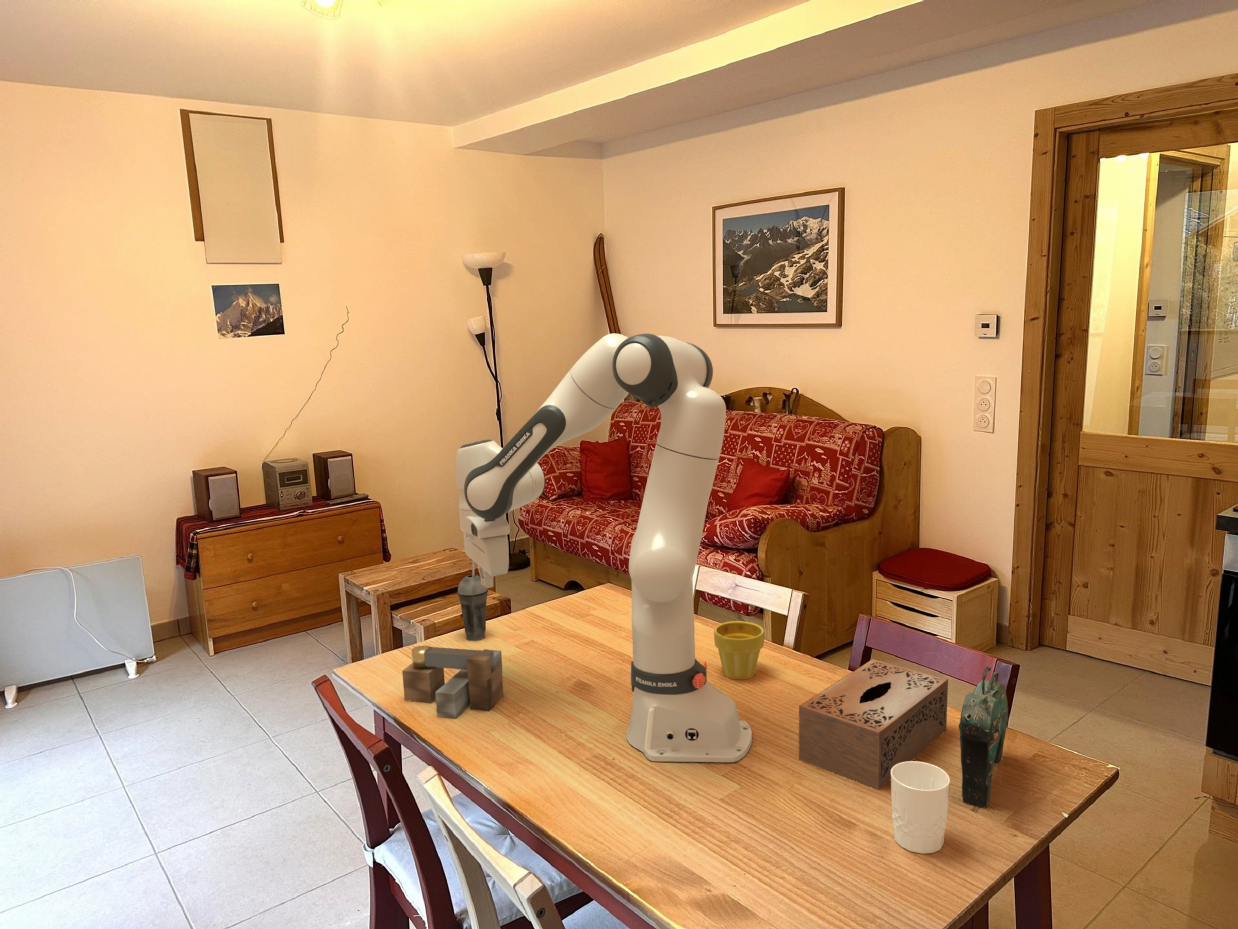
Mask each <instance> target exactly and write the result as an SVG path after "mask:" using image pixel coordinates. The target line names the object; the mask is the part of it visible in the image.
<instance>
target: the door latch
mask: <svg viewBox="0 0 1238 929" xmlns="http://www.w3.org/2000/svg"><path fill="white" fill-rule="evenodd" d="M482 650H483V651H493V653H494V666H493V667H492V668H491V663H490V657H489V656H478V655H471V656H470V657H469V658H467V668H468V670H463V669H459V671H458V672H456V674H455V675H453V676H452V677H451V678H449V680H448V681H445V680H446V678H445V668H436V667H415V666H413V662H412V663H410V664H409V665H408V666H406V667H405V668H404V669H403V670H401V672H402V685H403V693H404V694H403V698H404V701H405V700H411V701H410V702H414V701H416V703H423V702H424V703H423V704H425V703H426V704H432V703H433V702H434V701H435V706H436V716H439V717H440V718H446V719H447V718H448V719H457V718H458V717H459V716H460V715H461V714H462V713H463V712H464V711H465V710H466V709H467V708H468V707H469V710H472V711H473V710H475V711H482V712H490V711H491V710H492V709H493V708H494V707H495V706H496V705H497V703H498V702H500V701H501V699H502V698H503V697H504V682H503V681H504V680H503V661H502V660H503V658H502V656H503V655H502V650H497V649H482ZM435 699H436V700H435ZM439 717H438V718H439Z"/></svg>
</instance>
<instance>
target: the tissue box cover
mask: <svg viewBox="0 0 1238 929" xmlns="http://www.w3.org/2000/svg"><path fill="white" fill-rule="evenodd" d="M948 687H949V678H948V679H947V678H944V677H941V676H937V675H933V674H929V673H926V672H922V671H919V670H915V669H911V668H907V667H905V666H904V667H903V666H900V665H896V664H892V663H888V662H885V661H882V660H877V659H874V658H872V659H870V660H869V661H868V662H866V663H864V664H862V665H861V666H860V667H858V668H857V669H855V670H854V671H852V672H850V673H849V674H847V675H845V676H844V677H842V678H840V680H838V681H836V682H835V683H833V684H831V685H830V686H828V687H826V688H825V689H823V690H822V691H821V692H819V693H817V694H816V695H814V696H812V697H811V698H809V699H808V700H805V702H803V703H801V704H800V705H799V706H798V760H799V761H801V762H803V761H804V763H807V764H808V765H809V764H810V765H811V764H812V765H811V766H814V767H817V768H819V769H822V770H824V769H825V770H824V771H827V772H830V773H832V772H833V774H836V775H837V774H838V775H837V776H840V777H843V778H845V777H846V778H845V779H848V780H850V779H851V781H853V780H854V782H856V781H857V782H856V783H858V782H859V784H861V785H863V784H864V786H866V787H869V788H871V787H872V789H874V790H877V791H879V790H880V789H881V788H882V787H884V785H886V784H887V783H889V781H891V769H892V767H893V766H895V765H896V764H898V763H901V762H906V761H914V759H916V758H917V757H918V756H917V755H920V754H921V753H922V752H924V750H925V749H927V748H928V747H929V746H931V744H933V743H934V742H935V741H936V740H937V739H938V738H939V737H941V736H940V735H941V734H942V733H943V732H944V733H945V732H946V731H947V723H948V692H949V690H948V689H949V688H948ZM944 733H943V734H944ZM943 734H942V735H943Z"/></svg>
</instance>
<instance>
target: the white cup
mask: <svg viewBox="0 0 1238 929" xmlns="http://www.w3.org/2000/svg"><path fill="white" fill-rule="evenodd" d="M950 785H951V778H950V775H949V774H948V773H947V772H946V771H945V770H943V769H942V768H941V767H939V766H936V765H935V764H932V763H928V762H925V761H919V760H918V761H916V760H915V761H914V760H912V761H906V762H901V763H898V764H896V765H895V766H893V767H892V769H891V779H890V790H891V791H890V796H891V798H890V800H891V816H892V817H891V820H892V832H893V838H894V841H895V842H896V843H897V844H898V845H899V846H900V847H901V848H903V849H906V850H907V851H909V852H912V853H917V854H933V853H936V852H938V851H940V850H941V849H942V847H943V846H944V843H945V831H946V825H947V817H948V809H949V798H950V797H949V796H950Z"/></svg>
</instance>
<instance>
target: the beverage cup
mask: <svg viewBox="0 0 1238 929" xmlns="http://www.w3.org/2000/svg"><path fill="white" fill-rule="evenodd" d="M475 564H476V563H475V562H474V561H473V560H472V565H471V566H472V568H471V570H472V572H471V574H469V575H466V576H464V577H463V578H461V580H460V582H459V584H458V587H457V596H458V600H459V603H460V608H461V615H462V620H463V627H464V633H465V636H466V640H467V641H470V642H477V641H481V640H484V639H485V637H486V631H487V630H486V628H487V627H486V626H487V599H488V592H489V588H486V587H485V586H484V585H482V584H481V576H480V575H477V574H475V573H476V572H475V568H476V565H475Z"/></svg>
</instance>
